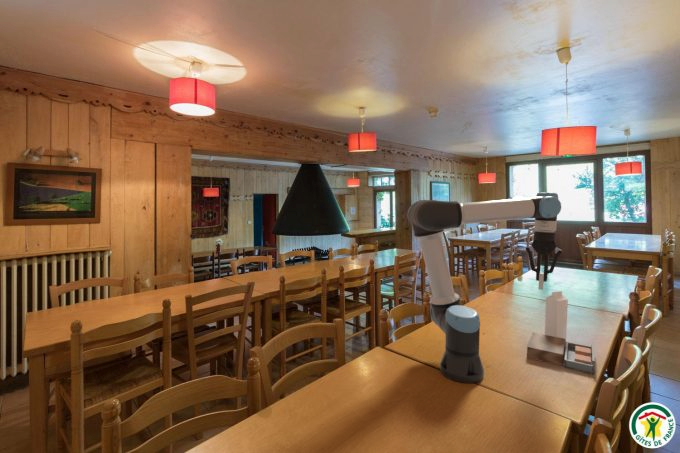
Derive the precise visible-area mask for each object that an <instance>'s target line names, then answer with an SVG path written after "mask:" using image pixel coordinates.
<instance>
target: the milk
mask: <svg viewBox="0 0 680 453" xmlns="http://www.w3.org/2000/svg"><path fill="white" fill-rule="evenodd" d="M568 301H569V299H568V298H567V297H565V295H563V291H562V290H561V291H559V290H558V291H552V292H551V295H549V296H546V297H545V312H544V313H545V315H544V335H548V336H553V337H559V338H564V339H565V342H567V326H568V306H569V305H568V304H569V302H568Z"/></svg>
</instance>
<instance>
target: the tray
mask: <svg viewBox="0 0 680 453" xmlns="http://www.w3.org/2000/svg"><path fill="white" fill-rule="evenodd" d="M575 346H579V347H584V348H589V349H591V365H589V364H584V363H580V362H575ZM595 361H596V360H595V348H594V342H593V341H591V345H586V344H580V343H576V342H575V343H574V342H569V341H565V351H564V359H563V367H564V368H565V369H570V370H574V371H577V372H583V373H585V374H586V373H587V374H590V373H592V374H591V375H595Z"/></svg>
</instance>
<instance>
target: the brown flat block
mask: <svg viewBox="0 0 680 453" xmlns="http://www.w3.org/2000/svg"><path fill="white" fill-rule="evenodd" d="M565 351H566V341H565V339H564V338H559V337H553V336H548V335H545V334H542V333H538V332H532V334H531V335H530V339H529V341H528V344H527V346H526V359H532V360H535V361H540V362H544V363H549V364H552V365H557V366H562V367H564V359H565Z"/></svg>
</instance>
